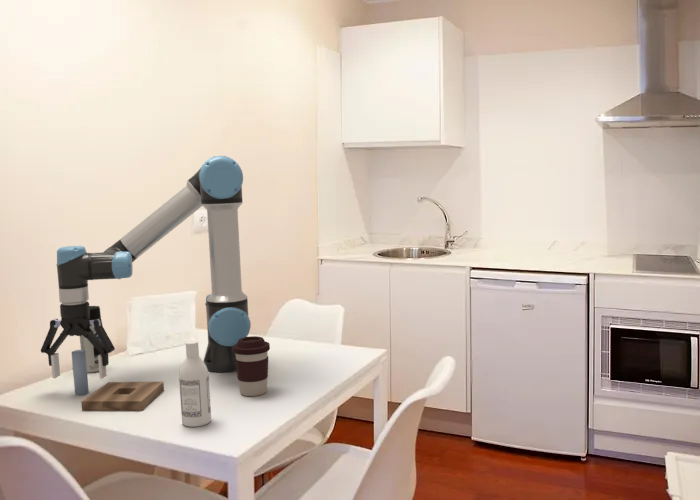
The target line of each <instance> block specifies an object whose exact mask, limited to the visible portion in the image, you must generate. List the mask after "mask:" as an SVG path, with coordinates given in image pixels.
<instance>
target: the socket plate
mask: <svg viewBox="0 0 700 500" xmlns="http://www.w3.org/2000/svg"><path fill="white" fill-rule="evenodd" d="M164 391H165V383H164V381H107V383H105V384H104V385H102V386H101V387H99V388H98V389H97V390H96V391H94V392H93V393H91V394H90V395H88V396H87V397H86V398H84V399H83V400H81V403H80V404H81V411H82V412H83V411H84V412H85V411H86V412H87V411H89V412H90V411H91V412H92V411H93V412H99V411H100V412H103V411H104V412H107V411H109V412H113V411H115V412H117V411H118V412H123V411H124V412H127V411H129V412H132V411H133V412H134V411H135V412H137V411H143V410H144V409H145V408H147V407H148V406H149V405H150V404H151V403H152V402H153V401H154V400H155V399H157V398H158V397H159V396H160V394H162V393H163V392H164Z"/></svg>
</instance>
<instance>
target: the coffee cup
mask: <svg viewBox="0 0 700 500" xmlns="http://www.w3.org/2000/svg"><path fill="white" fill-rule="evenodd" d="M270 348H271V346H270V343H269V341H265V339H264V338H263V337H261V336H257V335H256V336H255V335H254V336H253V335H251V336H247V337H244V338H241V339H239V340H238V343H236V344H235V345H233V352H234V353H235V354H236V359H235V361H236V369H237V371H236V374H237V376H236V378H237V380H238V384H239V385H238V386H239V392H240V394H241V395H242V396H244V397H257V396H261V395H264V394H266V392H267V390H268V377H269V356H268V352H269V351H270Z"/></svg>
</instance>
